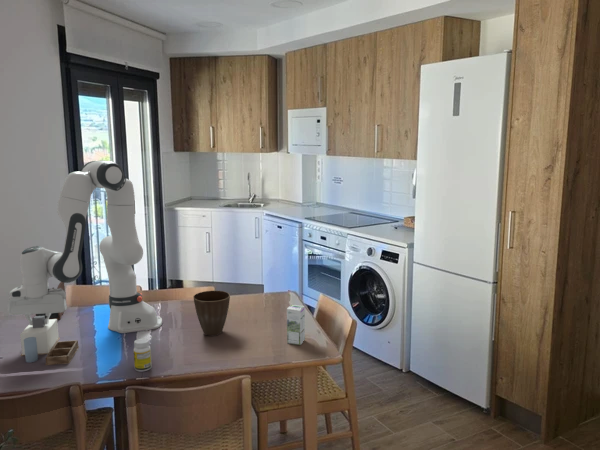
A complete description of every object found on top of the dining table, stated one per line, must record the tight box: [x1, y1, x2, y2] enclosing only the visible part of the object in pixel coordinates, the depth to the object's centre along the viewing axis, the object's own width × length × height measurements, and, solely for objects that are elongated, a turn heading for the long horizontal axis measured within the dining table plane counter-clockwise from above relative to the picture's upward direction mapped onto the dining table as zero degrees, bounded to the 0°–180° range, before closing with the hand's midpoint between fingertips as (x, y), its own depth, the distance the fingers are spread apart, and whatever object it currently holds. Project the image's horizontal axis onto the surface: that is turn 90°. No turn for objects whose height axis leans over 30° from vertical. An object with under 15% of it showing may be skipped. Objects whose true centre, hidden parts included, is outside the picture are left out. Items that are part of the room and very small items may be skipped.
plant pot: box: [192, 290, 231, 337], centre depth 216 cm, size 15×15×16 cm
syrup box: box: [286, 304, 306, 346], centre depth 205 cm, size 6×6×14 cm
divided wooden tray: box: [44, 339, 80, 366], centre depth 192 cm, size 8×15×4 cm, turn 11°
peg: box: [24, 337, 39, 363], centre depth 188 cm, size 4×4×9 cm
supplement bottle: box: [133, 338, 152, 372], centre depth 183 cm, size 6×6×10 cm
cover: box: [19, 315, 60, 355], centre depth 200 cm, size 9×15×12 cm, turn 11°
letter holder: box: [35, 281, 68, 321], centre depth 241 cm, size 10×20×14 cm, turn 16°
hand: (39, 324), depth 200 cm, fingers closed on cover, 3 cm apart
